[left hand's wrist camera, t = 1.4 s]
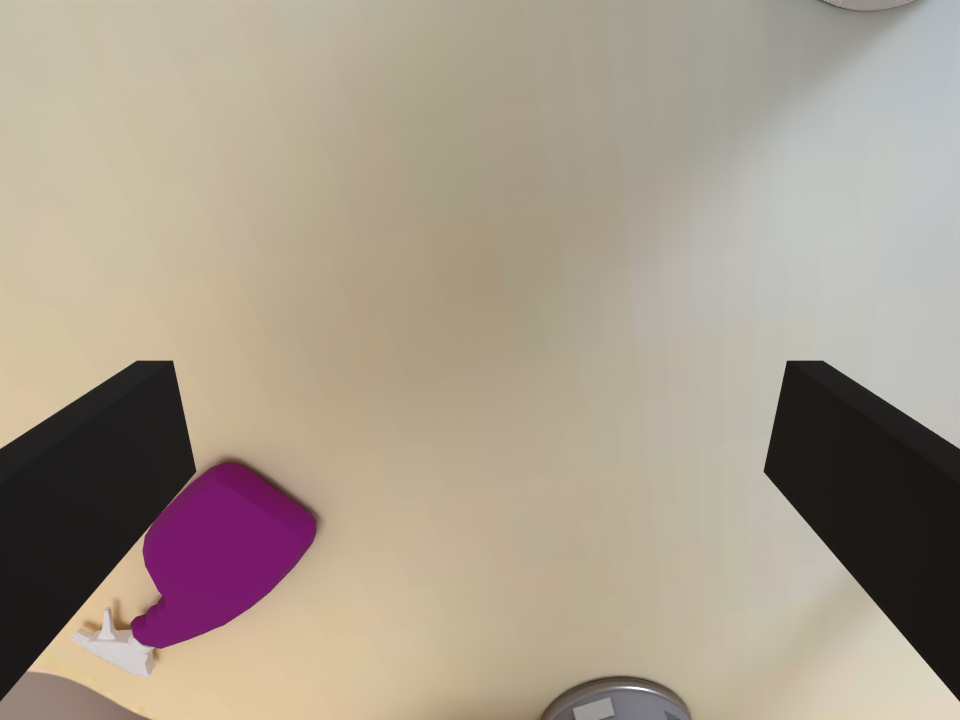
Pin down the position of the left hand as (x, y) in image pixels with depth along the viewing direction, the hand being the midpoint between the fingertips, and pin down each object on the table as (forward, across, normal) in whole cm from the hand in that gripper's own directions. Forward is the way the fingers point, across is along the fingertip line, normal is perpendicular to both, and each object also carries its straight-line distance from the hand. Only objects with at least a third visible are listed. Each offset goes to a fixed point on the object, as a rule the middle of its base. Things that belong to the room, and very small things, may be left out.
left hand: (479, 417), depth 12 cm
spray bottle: (+28, +25, +29) cm, 47 cm away
